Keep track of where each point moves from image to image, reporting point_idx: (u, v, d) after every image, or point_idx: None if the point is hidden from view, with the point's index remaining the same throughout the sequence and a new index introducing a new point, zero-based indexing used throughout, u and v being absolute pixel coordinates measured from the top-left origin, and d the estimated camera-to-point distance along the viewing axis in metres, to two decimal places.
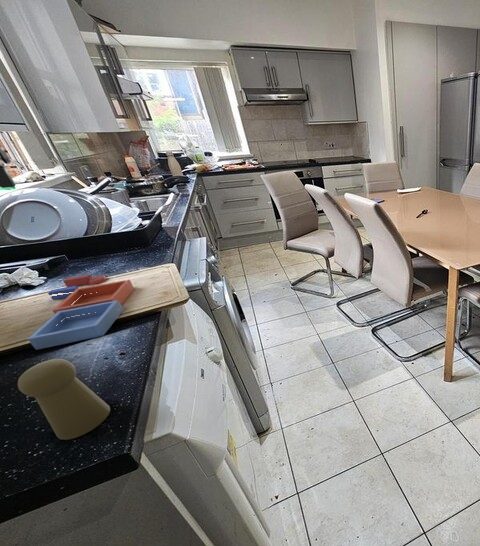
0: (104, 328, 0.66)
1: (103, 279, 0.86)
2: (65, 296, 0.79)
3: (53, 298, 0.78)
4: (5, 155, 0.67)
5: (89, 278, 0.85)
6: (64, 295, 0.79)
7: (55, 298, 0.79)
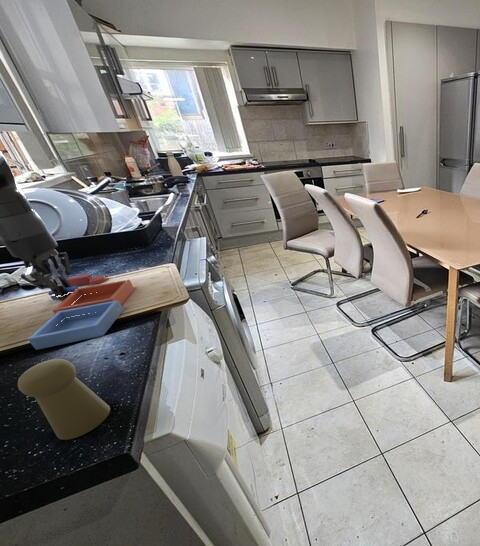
0: (104, 328, 0.66)
1: (103, 279, 0.86)
2: None
3: (53, 298, 0.78)
4: (69, 269, 0.81)
5: (89, 278, 0.85)
6: None
7: (55, 298, 0.79)
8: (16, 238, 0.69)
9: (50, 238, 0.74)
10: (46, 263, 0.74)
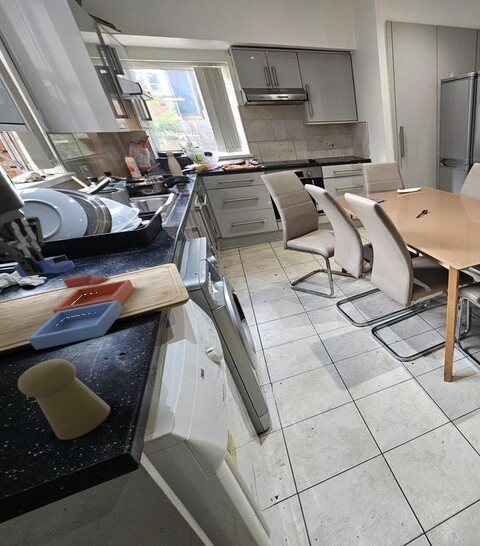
0: (104, 328, 0.66)
1: (103, 279, 0.86)
2: None
3: (21, 274, 0.62)
4: (41, 238, 0.64)
5: (89, 278, 0.85)
6: None
7: (24, 273, 0.62)
8: None
9: (13, 194, 0.57)
10: (9, 227, 0.57)
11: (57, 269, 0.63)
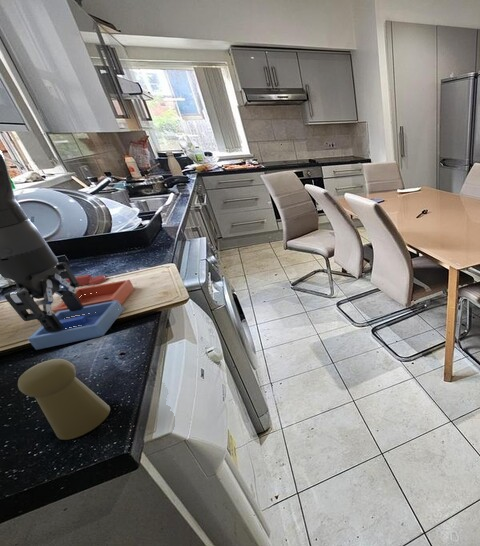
0: (104, 328, 0.66)
1: (103, 279, 0.86)
2: (71, 328, 0.66)
3: None
4: (75, 280, 0.69)
5: (89, 278, 0.85)
6: None
7: None
8: (6, 255, 0.55)
9: (49, 254, 0.60)
10: (44, 285, 0.60)
11: None
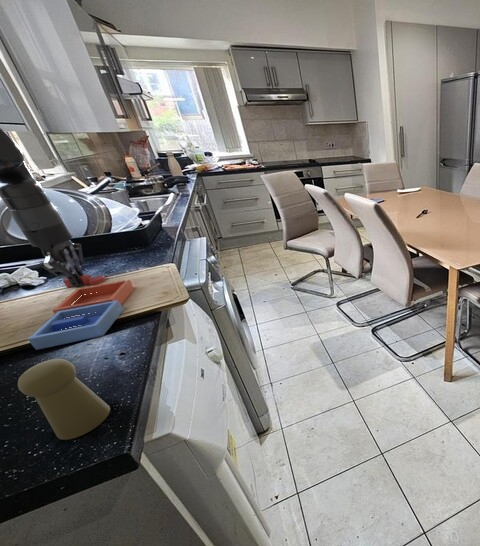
0: (104, 328, 0.66)
1: (103, 279, 0.86)
2: (71, 328, 0.66)
3: None
4: (82, 259, 0.86)
5: (89, 278, 0.85)
6: None
7: (60, 330, 0.66)
8: (35, 228, 0.74)
9: (66, 229, 0.79)
10: (62, 252, 0.79)
11: None
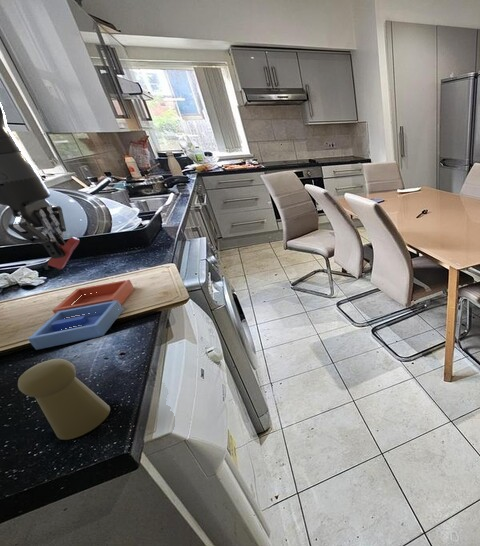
0: (104, 328, 0.66)
1: (72, 239, 0.71)
2: (71, 328, 0.66)
3: None
4: (63, 225, 0.72)
5: (62, 247, 0.71)
6: None
7: (60, 330, 0.66)
8: (2, 181, 0.60)
9: (41, 186, 0.65)
10: (37, 214, 0.66)
11: None
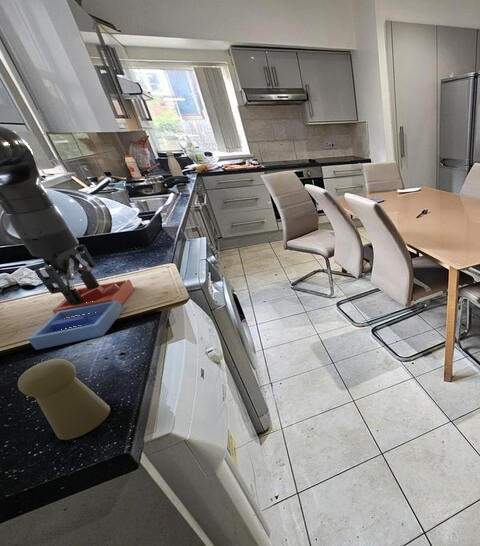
0: (104, 328, 0.66)
1: (115, 287, 0.76)
2: (71, 328, 0.66)
3: None
4: (92, 261, 0.77)
5: (101, 290, 0.75)
6: None
7: (60, 330, 0.66)
8: (36, 236, 0.64)
9: (71, 236, 0.69)
10: (67, 263, 0.69)
11: None
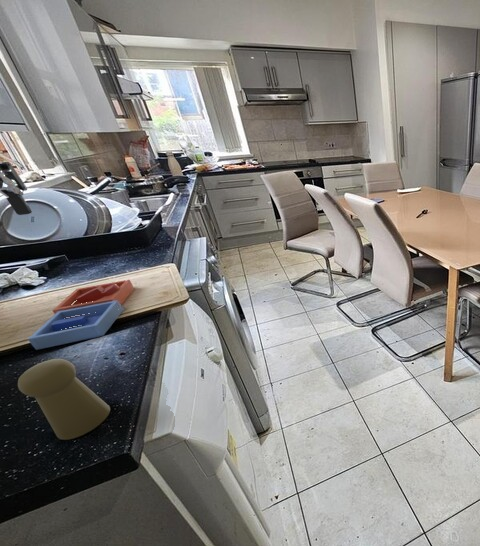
0: (104, 328, 0.66)
1: (115, 287, 0.76)
2: (71, 328, 0.66)
3: None
4: (22, 183, 0.67)
5: (101, 290, 0.75)
6: None
7: (60, 330, 0.66)
8: None
9: None
10: None
11: None
